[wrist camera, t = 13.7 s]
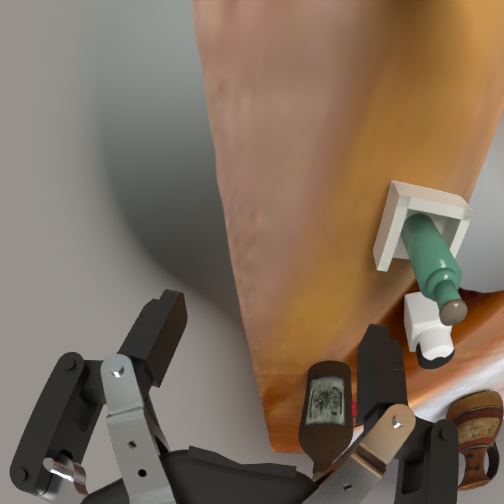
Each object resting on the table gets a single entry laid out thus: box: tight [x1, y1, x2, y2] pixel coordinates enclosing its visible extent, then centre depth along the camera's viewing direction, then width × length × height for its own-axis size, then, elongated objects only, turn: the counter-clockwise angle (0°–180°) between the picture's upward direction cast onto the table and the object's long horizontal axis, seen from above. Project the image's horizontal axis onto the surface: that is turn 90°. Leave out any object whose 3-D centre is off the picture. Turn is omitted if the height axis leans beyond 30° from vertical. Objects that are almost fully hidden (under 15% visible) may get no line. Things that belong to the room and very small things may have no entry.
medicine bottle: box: [404, 292, 455, 369], centre depth 39 cm, size 7×7×12 cm
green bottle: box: [400, 213, 467, 326], centre depth 29 cm, size 5×5×16 cm
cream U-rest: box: [373, 180, 474, 271], centre depth 34 cm, size 11×11×4 cm
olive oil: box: [298, 361, 353, 480], centre depth 50 cm, size 11×11×25 cm
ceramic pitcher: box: [446, 391, 504, 491], centre depth 49 cm, size 20×20×30 cm
